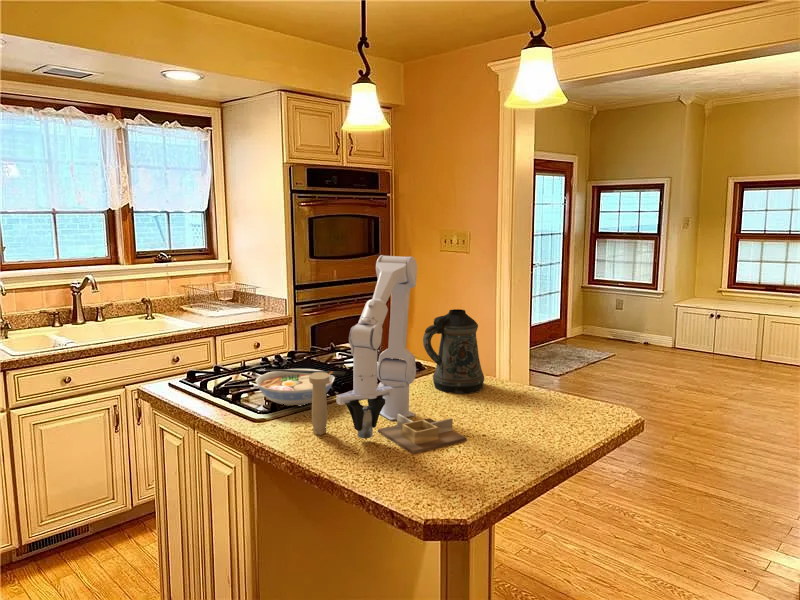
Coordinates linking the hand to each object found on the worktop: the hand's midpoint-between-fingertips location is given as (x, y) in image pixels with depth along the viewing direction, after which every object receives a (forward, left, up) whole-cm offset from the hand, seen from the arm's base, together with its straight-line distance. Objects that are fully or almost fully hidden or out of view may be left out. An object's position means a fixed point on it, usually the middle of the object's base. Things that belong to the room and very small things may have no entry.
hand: (365, 428), depth 145 cm
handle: (-11, -7, -4) cm, 14 cm away
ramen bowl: (-36, -3, -4) cm, 36 cm away
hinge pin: (0, 0, -2) cm, 2 cm away
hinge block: (+4, +14, -4) cm, 15 cm away
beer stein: (-25, +47, -4) cm, 53 cm away
